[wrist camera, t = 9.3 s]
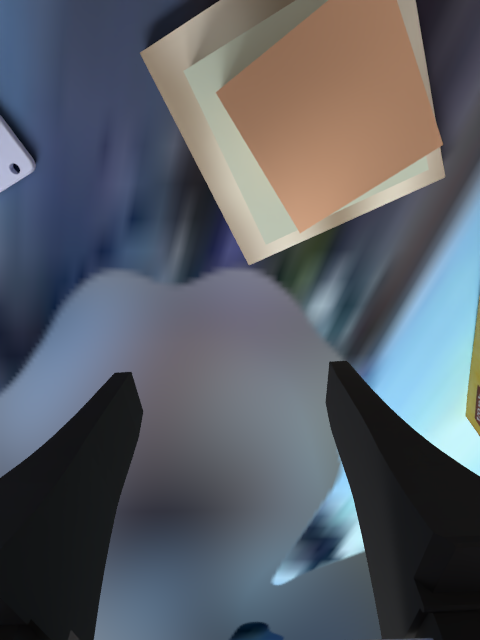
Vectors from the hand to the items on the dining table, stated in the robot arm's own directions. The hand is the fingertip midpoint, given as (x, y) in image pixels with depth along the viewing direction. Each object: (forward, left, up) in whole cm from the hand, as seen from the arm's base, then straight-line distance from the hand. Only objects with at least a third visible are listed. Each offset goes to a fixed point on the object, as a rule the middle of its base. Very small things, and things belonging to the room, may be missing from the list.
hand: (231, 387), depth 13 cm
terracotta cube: (+6, +6, -7) cm, 12 cm away
